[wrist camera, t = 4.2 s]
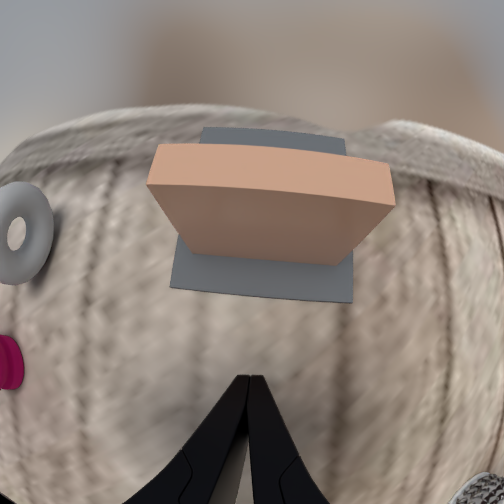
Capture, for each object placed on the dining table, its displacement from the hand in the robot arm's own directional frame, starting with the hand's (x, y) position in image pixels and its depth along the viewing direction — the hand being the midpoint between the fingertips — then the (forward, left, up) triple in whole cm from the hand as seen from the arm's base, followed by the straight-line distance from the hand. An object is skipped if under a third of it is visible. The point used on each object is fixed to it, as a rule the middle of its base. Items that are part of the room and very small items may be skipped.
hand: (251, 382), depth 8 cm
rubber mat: (+9, -10, -13) cm, 19 cm away
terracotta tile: (+6, -7, -12) cm, 15 cm away
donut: (+22, +10, -13) cm, 27 cm away
